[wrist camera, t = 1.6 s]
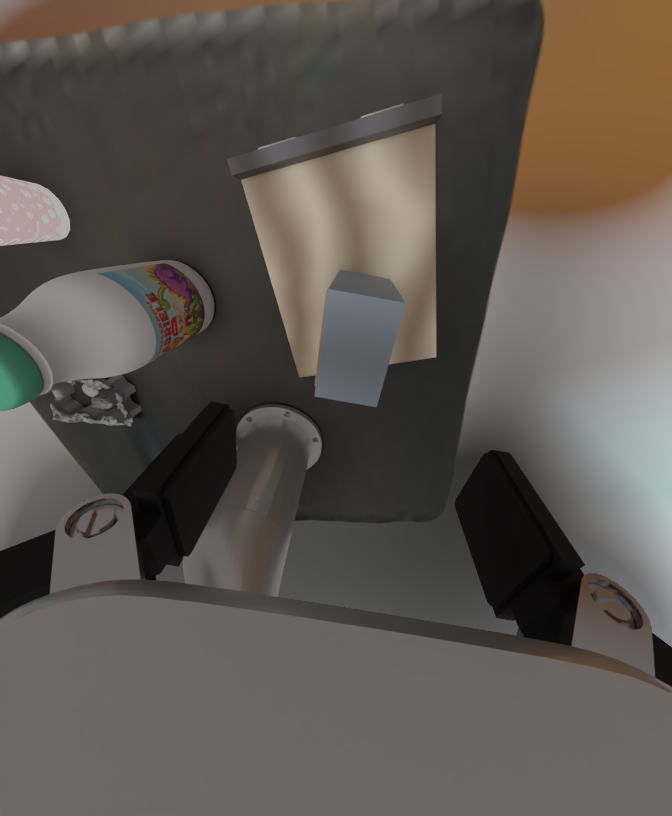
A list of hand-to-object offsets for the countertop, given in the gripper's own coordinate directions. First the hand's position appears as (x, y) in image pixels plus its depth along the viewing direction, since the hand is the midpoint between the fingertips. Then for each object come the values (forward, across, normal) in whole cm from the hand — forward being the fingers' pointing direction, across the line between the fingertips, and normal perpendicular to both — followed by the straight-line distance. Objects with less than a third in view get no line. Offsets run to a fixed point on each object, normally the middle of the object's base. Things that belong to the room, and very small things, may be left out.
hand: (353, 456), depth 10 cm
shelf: (+23, +2, -4) cm, 24 cm away
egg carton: (+24, +34, +17) cm, 44 cm away
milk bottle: (+23, +20, +2) cm, 31 cm away
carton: (+22, 0, 0) cm, 22 cm away
